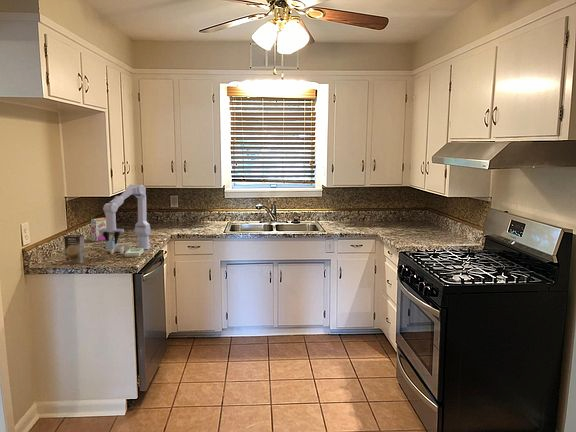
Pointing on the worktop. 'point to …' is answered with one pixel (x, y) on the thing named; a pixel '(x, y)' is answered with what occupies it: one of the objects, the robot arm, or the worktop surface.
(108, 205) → the robot arm
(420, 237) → the worktop surface
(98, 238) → the candy bar box
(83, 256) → the coffee box
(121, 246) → the stand
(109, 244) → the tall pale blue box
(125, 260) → the worktop surface
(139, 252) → the tray
